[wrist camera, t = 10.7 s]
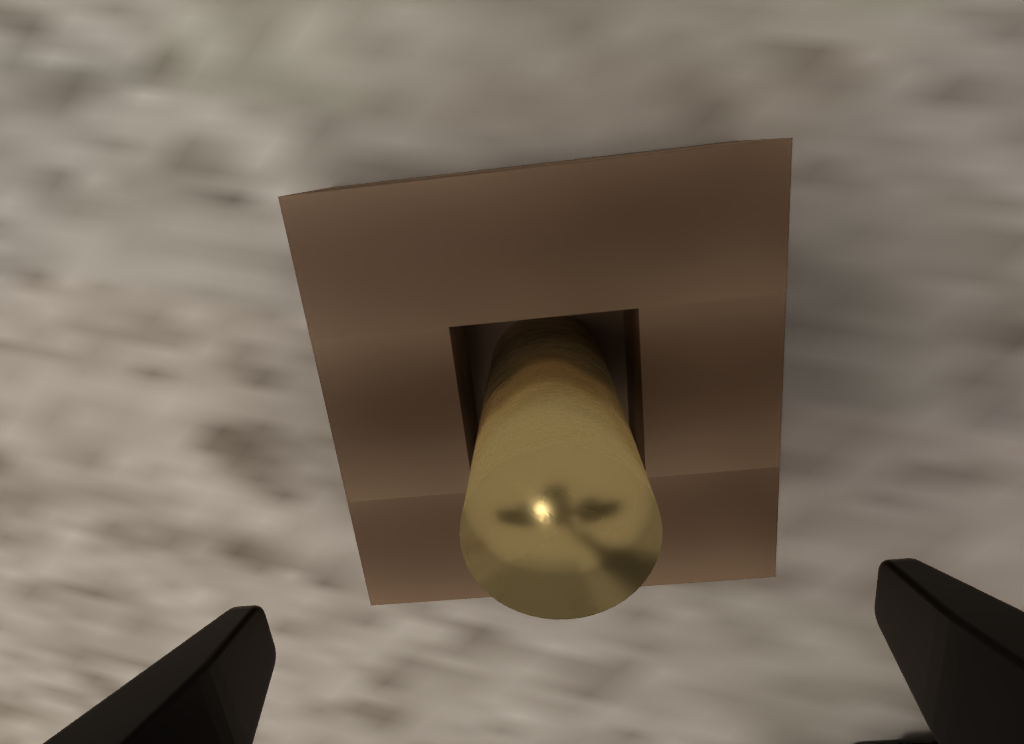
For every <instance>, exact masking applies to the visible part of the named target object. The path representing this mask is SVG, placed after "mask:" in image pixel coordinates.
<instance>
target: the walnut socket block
mask: <svg viewBox="0 0 1024 744" xmlns="http://www.w3.org/2000/svg"><path fill="white" fill-rule="evenodd" d="M791 160H792V138H781V139H762V140H744V141H731V142H723V143H714V144H705V145H696V146H688V147H679V148H670V149H662V150H653V151H644V152H636V153H627V154H618V155H610V156H601V157H592V158H583V159H575V160H566V161H557V162H549V163H540V164H531V165H523V166H514V167H505V168H496V169H488V170H479V171H470V172H462V173H453V174H444V175H436V176H427V177H418V178H410V179H401V180H392V181H383V182H375V183H366V184H357V185H349V186H340V187H331V188H325V189H319V190H314V191H308V192H303V193H297V194H291V195H286V196H280V197H278V198H279V202H280V207H281V211H282V216H283V220H284V224H285V229H286V233H287V238H288V242H289V246H290V251H291V255H292V260H293V264H294V268H295V273H296V277H297V282H298V286H299V290H300V295H301V299H302V304H303V308H304V312H305V317H306V321H307V326H308V330H309V334H310V339H311V343H312V348H313V352H314V356H315V361H316V365H317V370H318V374H319V378H320V383H321V387H322V392H323V396H324V400H325V405H326V409H327V414H328V418H329V422H330V427H331V431H332V436H333V440H334V444H335V449H336V453H337V458H338V462H339V466H340V471H341V475H342V480H343V484H344V488H345V493H346V497H347V502H348V506H349V510H350V515H351V519H352V524H353V528H354V532H355V537H356V541H357V546H358V550H359V555H360V559H361V563H362V568H363V572H364V577H365V581H366V585H367V590H368V594H369V599H370V603H371V605H383V604H397V603H411V602H425V601H439V600H453V599H467V598H481V597H492V596H491V595H489V594H488V593H487V592H486V591H485V590H484V589H483V588H482V587H481V586H480V585H479V584H478V582H477V581H476V580H475V578H474V577H473V576H472V574H471V572H470V570H469V569H468V567H467V565H466V562H465V560H464V557H463V554H462V550H461V545H460V521H461V516H462V511H463V506H464V501H465V496H466V490H467V485H468V480H469V475H470V470H471V464H472V459H473V454H474V449H475V444H476V438H477V433H478V428H479V423H480V418H481V412H482V407H483V402H484V397H485V392H486V387H487V381H488V376H489V371H490V366H491V361H492V356H493V351H494V349H495V346H496V344H497V342H498V340H499V338H500V337H501V336H502V334H503V333H504V332H505V331H506V330H507V329H508V328H509V327H510V326H511V325H512V324H514V323H515V322H517V321H518V320H526V319H536V318H546V317H556V316H566V315H567V316H570V317H573V318H574V319H576V320H578V321H580V322H581V323H583V324H584V325H585V326H586V327H588V328H589V329H590V330H591V332H592V333H593V334H594V335H595V337H596V338H597V340H598V342H599V344H600V346H601V348H602V351H603V354H604V357H605V360H606V362H607V365H608V368H609V371H610V374H611V376H612V379H613V382H614V385H615V388H616V390H617V393H618V396H619V399H620V402H621V404H622V407H623V410H624V413H625V416H626V418H627V421H628V424H629V427H630V430H631V432H632V435H633V438H634V441H635V444H636V446H637V449H638V452H639V455H640V458H641V460H642V463H643V466H644V469H645V472H646V474H647V477H648V480H649V483H650V486H651V488H652V491H653V494H654V497H655V499H656V502H657V505H658V508H659V512H660V515H661V520H662V529H663V533H662V544H661V549H660V554H659V556H658V559H657V562H656V564H655V566H654V568H653V570H652V572H651V573H650V575H649V576H648V578H647V579H646V580H645V582H644V583H643V584H642V585H641V586H651V585H665V584H679V583H693V582H708V581H722V580H736V579H750V578H764V577H775V572H776V546H777V521H778V495H779V469H780V443H781V418H782V392H783V366H784V340H785V315H786V289H787V263H788V237H789V211H790V186H791Z"/></svg>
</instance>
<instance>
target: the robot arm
mask: <svg viewBox="0 0 1024 744" xmlns="http://www.w3.org/2000/svg"><path fill="white" fill-rule="evenodd" d="M875 615H876V619H877V622H878V625H879V627H880V629H881V631H882V633H883V635H884V637H885V639H886V641H887V644H888V646H889V648H890V650H891V652H892V654H893V656H894V658H895V660H896V662H897V664H898V666H899V668H900V670H901V672H902V674H903V676H904V678H905V680H906V682H907V684H908V686H909V688H910V690H911V692H912V694H913V696H914V698H915V700H916V702H917V704H918V706H919V708H920V711H921V713H922V714H923V716H924V718H925V720H926V722H927V724H928V726H929V728H930V730H931V732H932V733H933V735H934V737H935V738H936V740H937V742H932V743H913V744H1024V612H1023V611H1021V610H1019V609H1017V608H1015V607H1013V606H1011V605H1009V604H1007V603H1005V602H1003V601H1001V600H999V599H997V598H994V597H992V596H990V595H988V594H986V593H984V592H982V591H980V590H978V589H976V588H974V587H972V586H970V585H968V584H966V583H964V582H962V581H960V580H958V579H955V578H953V577H951V576H949V575H947V574H945V573H943V572H941V571H939V570H937V569H935V568H933V567H931V566H929V565H927V564H925V563H923V562H921V561H918V560H916V559H912V558H904V559H891V560H885V561H883V562H882V563H881V564H880V566H879V571H878V580H877V589H876V598H875ZM275 659H276V651H275V645H274V642H273V639H272V635H271V632H270V629H269V625H268V622H267V619H266V615H265V613H264V610H263V609H262V608H261V607H259V606H256V605H254V606H240V607H233V608H231V609H229V610H228V611H226V612H225V613H224V614H222V615H221V616H219V617H218V618H217V619H215V620H214V621H213V622H211V623H210V624H208V625H207V626H206V627H204V628H203V629H201V630H200V631H199V632H197V633H196V634H195V635H193V636H192V637H190V638H189V639H188V640H186V641H185V642H183V643H182V644H181V645H179V646H178V647H176V648H175V649H174V650H172V651H171V652H170V653H168V654H167V655H165V656H164V657H163V658H161V659H160V660H158V661H157V662H156V663H154V664H153V665H151V666H150V667H149V668H147V669H146V670H145V671H143V672H142V673H140V674H139V675H138V676H136V677H135V678H133V679H132V680H131V681H129V682H128V683H126V684H125V685H124V686H122V687H121V688H120V689H118V690H117V691H115V692H114V693H113V694H111V695H110V696H108V697H107V698H106V699H104V700H103V701H101V702H100V703H99V704H97V705H96V706H95V707H93V708H92V709H90V710H89V711H88V712H86V713H85V714H83V715H82V716H81V717H79V718H78V719H76V720H75V721H74V722H72V723H71V724H70V725H68V726H67V727H65V728H64V729H63V730H61V731H60V732H58V733H57V734H56V735H54V736H53V737H51V738H50V739H49V740H47V741H46V742H45V743H43V744H252V743H253V740H254V736H255V733H256V729H257V726H258V722H259V719H260V715H261V712H262V708H263V705H264V701H265V698H266V694H267V690H268V687H269V683H270V680H271V676H272V673H273V669H274V665H275Z"/></svg>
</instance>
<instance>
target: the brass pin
mask: <svg viewBox="0 0 1024 744" xmlns="http://www.w3.org/2000/svg"><path fill="white" fill-rule="evenodd" d="M662 533H663V529H662V520H661V515H660V512H659V508H658V505H657V502H656V499H655V497H654V494H653V491H652V488H651V486H650V483H649V480H648V477H647V474H646V472H645V469H644V466H643V463H642V460H641V458H640V455H639V452H638V449H637V446H636V444H635V441H634V438H633V435H632V432H631V430H630V427H629V424H628V421H627V418H626V416H625V413H624V410H623V407H622V404H621V402H620V399H619V396H618V393H617V390H616V388H615V385H614V382H613V379H612V376H611V374H610V371H609V368H608V365H607V362H606V360H605V357H604V354H603V351H602V348H601V346H600V344H599V342H598V340H597V338H596V337H595V335H594V334H593V333H592V332H591V330H590V329H589V328H588V327H586V326H585V325H584V324H583V323H581V322H580V321H578V320H576V319H574V318H573V317H570V316H567V315H566V316H556V317H546V318H536V319H526V320H518V321H517V322H515V323H514V324H512V325H511V326H510V327H509V328H508V329H507V330H506V331H505V332H504V333H503V334H502V336H501V337H500V338H499V340H498V342H497V344H496V346H495V349H494V351H493V356H492V361H491V366H490V371H489V376H488V381H487V387H486V392H485V397H484V402H483V407H482V412H481V418H480V423H479V428H478V433H477V438H476V444H475V449H474V454H473V459H472V464H471V470H470V475H469V480H468V485H467V490H466V496H465V501H464V506H463V511H462V516H461V521H460V545H461V550H462V554H463V557H464V560H465V562H466V565H467V567H468V569H469V570H470V572H471V574H472V576H473V577H474V578H475V580H476V581H477V582H478V584H479V585H480V586H481V587H482V588H483V589H484V590H485V591H486V592H487V593H488V594H489V595H491V596H492V597H493V598H495V599H496V600H497V601H499V602H500V603H502V604H504V605H506V606H507V607H509V608H511V609H514V610H516V611H518V612H521V613H524V614H527V615H530V616H535V617H540V618H547V619H574V618H582V617H586V616H590V615H594V614H597V613H600V612H603V611H605V610H607V609H610V608H612V607H614V606H616V605H617V604H619V603H621V602H622V601H624V600H625V599H627V598H628V597H629V596H630V595H632V594H633V593H634V592H635V591H636V590H637V589H638V588H639V587H640V586H641V585H642V584H643V583H644V582H645V580H646V579H647V578H648V576H649V575H650V573H651V572H652V570H653V568H654V566H655V564H656V562H657V559H658V556H659V554H660V549H661V544H662Z"/></svg>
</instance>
